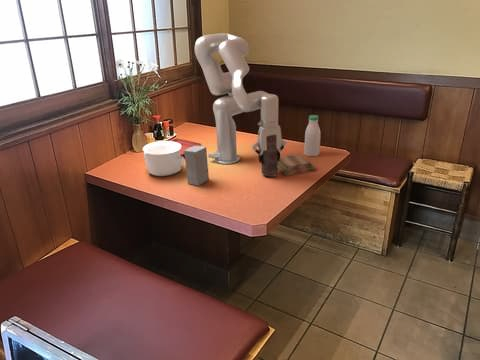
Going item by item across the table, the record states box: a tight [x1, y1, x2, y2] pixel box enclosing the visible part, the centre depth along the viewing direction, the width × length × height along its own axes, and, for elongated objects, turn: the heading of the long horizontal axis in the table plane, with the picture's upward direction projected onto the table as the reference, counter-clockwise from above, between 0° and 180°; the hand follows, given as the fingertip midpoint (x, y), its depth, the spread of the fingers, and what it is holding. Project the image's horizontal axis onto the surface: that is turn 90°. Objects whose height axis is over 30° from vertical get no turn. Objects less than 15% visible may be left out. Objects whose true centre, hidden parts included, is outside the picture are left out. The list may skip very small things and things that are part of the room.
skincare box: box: [184, 145, 210, 187], centre depth 182 cm, size 8×7×16 cm
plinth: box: [277, 153, 317, 177], centre depth 196 cm, size 16×16×4 cm
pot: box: [142, 140, 185, 177], centre depth 194 cm, size 22×17×12 cm
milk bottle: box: [303, 114, 322, 157], centre depth 207 cm, size 8×8×20 cm
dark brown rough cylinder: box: [260, 135, 279, 177], centre depth 185 cm, size 8×7×20 cm
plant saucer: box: [171, 137, 203, 158], centre depth 220 cm, size 18×18×3 cm
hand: (269, 161), depth 187 cm, fingers closed on dark brown rough cylinder, 7 cm apart
